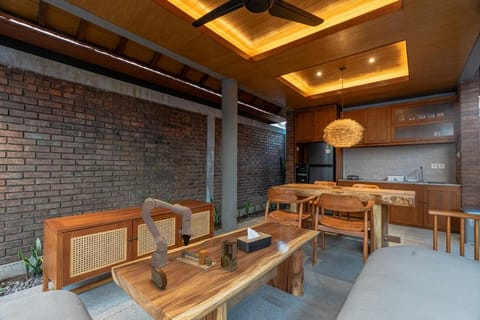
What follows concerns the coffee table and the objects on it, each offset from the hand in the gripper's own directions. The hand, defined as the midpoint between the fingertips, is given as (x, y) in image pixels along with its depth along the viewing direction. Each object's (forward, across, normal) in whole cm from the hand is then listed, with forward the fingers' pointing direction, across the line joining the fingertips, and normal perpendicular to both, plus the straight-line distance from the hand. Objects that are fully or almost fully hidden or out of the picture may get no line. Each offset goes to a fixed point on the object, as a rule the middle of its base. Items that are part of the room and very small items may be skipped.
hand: (186, 245), depth 151 cm
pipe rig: (+10, -8, -1) cm, 13 cm away
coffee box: (+10, -31, -7) cm, 33 cm away
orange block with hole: (+8, -15, -1) cm, 17 cm away
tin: (+10, -11, +31) cm, 34 cm away
